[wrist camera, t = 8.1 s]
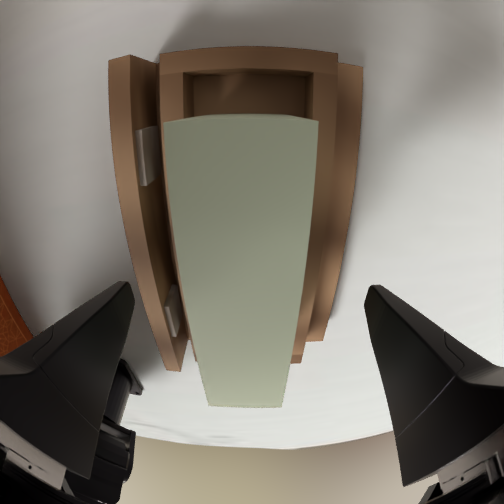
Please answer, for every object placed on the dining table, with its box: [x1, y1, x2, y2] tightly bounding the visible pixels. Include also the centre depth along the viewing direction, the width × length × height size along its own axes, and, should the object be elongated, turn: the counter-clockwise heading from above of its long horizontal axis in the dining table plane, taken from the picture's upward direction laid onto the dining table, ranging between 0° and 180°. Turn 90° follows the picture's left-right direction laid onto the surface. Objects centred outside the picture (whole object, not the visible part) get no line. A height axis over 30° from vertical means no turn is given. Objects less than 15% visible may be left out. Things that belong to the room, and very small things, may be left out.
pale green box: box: [163, 113, 319, 408], centre depth 11 cm, size 12×4×7 cm, turn 0°
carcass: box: [108, 46, 363, 372], centre depth 14 cm, size 18×11×4 cm, turn 0°
